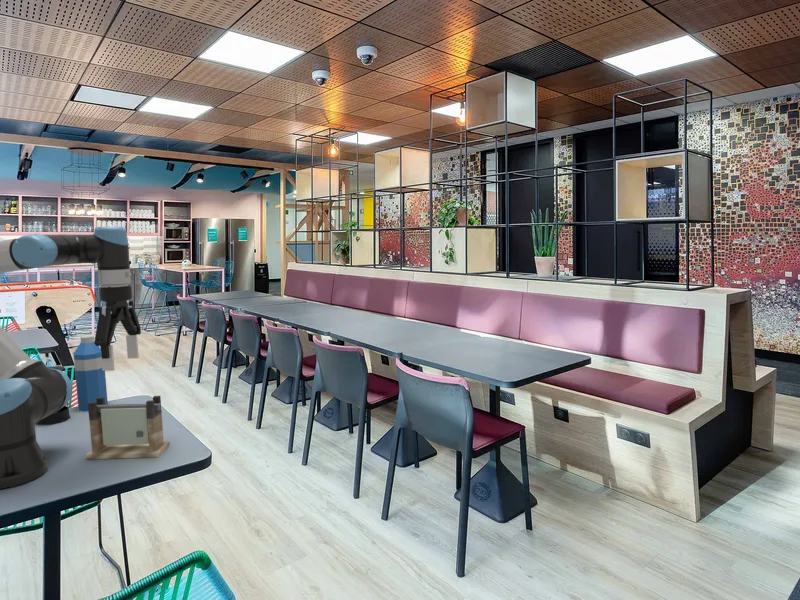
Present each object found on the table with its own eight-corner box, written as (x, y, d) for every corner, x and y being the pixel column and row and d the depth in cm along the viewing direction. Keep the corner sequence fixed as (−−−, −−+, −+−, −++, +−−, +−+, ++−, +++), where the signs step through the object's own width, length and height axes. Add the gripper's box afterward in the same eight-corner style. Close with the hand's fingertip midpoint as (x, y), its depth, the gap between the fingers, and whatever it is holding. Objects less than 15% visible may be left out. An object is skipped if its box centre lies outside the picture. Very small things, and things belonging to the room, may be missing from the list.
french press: (72, 413, 179) (66, 346, 176) (72, 421, 171) (66, 351, 168) (30, 419, 173) (23, 350, 170) (28, 428, 165) (20, 356, 162)
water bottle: (86, 413, 178) (80, 340, 175) (72, 408, 183) (65, 337, 180) (113, 405, 186) (108, 335, 183) (99, 401, 191) (93, 333, 188)
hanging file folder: (90, 446, 142) (87, 408, 141) (98, 441, 146) (94, 404, 145) (158, 444, 143) (155, 406, 142) (164, 439, 147) (161, 402, 145)
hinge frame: (85, 459, 141) (80, 405, 139) (101, 447, 149) (97, 395, 147) (158, 457, 142) (154, 403, 140) (169, 445, 150) (166, 394, 148)
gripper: (105, 290, 127) (112, 375, 130) (150, 281, 152) (155, 353, 155) (73, 290, 127) (81, 376, 130) (123, 281, 152) (129, 353, 154)
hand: (121, 364), depth 142 cm, fingers open, 13 cm apart
